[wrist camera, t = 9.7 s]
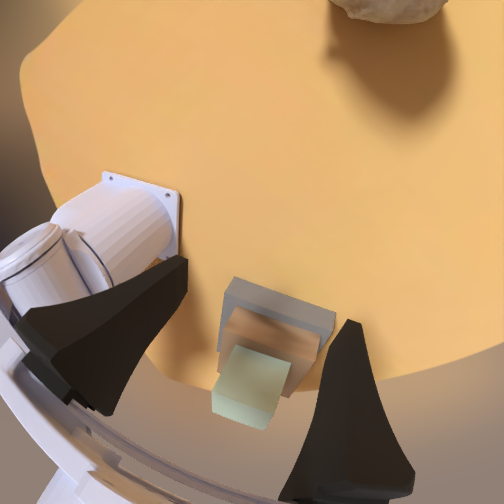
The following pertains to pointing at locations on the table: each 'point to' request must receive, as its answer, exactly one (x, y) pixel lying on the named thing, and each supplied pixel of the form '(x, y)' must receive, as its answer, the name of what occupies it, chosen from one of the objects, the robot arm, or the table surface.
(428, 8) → the garlic bulb
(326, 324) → the tower base
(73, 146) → the table surface
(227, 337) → the tower top
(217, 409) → the green cube
